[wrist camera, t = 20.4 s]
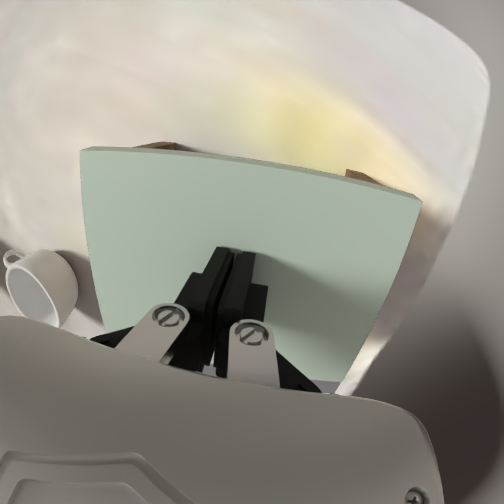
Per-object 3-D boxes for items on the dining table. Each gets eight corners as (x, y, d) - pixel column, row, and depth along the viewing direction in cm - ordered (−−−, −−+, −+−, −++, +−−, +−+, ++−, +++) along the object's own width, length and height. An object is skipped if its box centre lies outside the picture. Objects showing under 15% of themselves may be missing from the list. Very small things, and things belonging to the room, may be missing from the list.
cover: (333, 382, 16) (334, 394, 16) (117, 339, 17) (110, 350, 16) (413, 194, 11) (422, 201, 10) (92, 146, 11) (79, 150, 10)
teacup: (97, 273, 24) (65, 304, 20) (79, 316, 27) (54, 346, 23) (31, 213, 23) (-5, 233, 18) (22, 263, 26) (-7, 285, 21)
